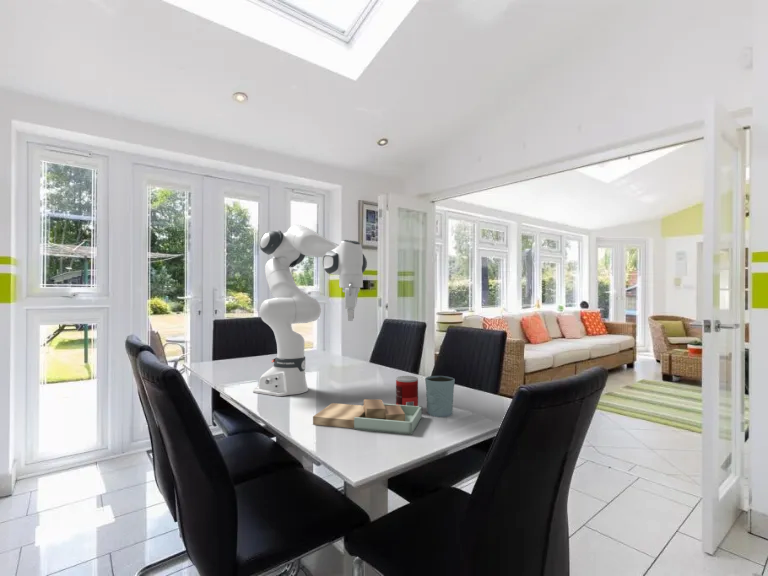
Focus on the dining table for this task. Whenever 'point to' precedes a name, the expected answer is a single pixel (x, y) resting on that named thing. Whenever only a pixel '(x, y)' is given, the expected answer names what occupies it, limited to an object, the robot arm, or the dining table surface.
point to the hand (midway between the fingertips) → (350, 319)
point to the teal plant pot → (439, 395)
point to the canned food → (407, 390)
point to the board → (339, 415)
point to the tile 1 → (374, 408)
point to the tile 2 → (394, 413)
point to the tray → (392, 421)
